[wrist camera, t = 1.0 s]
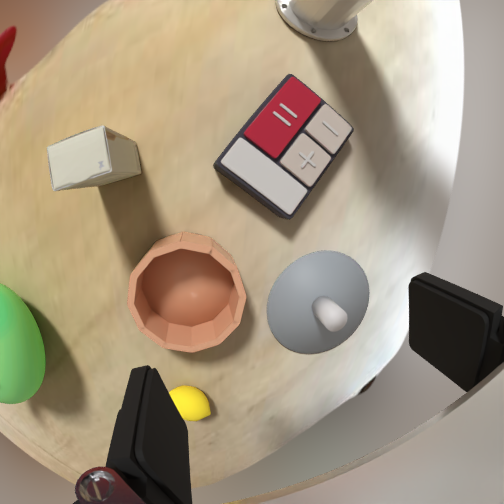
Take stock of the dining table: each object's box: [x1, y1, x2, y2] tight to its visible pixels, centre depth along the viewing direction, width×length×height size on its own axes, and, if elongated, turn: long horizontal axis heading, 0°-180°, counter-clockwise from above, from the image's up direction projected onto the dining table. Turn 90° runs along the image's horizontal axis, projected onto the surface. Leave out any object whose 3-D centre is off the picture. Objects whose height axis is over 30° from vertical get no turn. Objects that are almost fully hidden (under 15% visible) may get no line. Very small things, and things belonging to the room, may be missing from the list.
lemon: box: [169, 386, 211, 421], centre depth 39 cm, size 7×5×5 cm
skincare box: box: [47, 126, 141, 191], centre depth 27 cm, size 6×4×12 cm
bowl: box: [127, 232, 246, 353], centre depth 35 cm, size 13×13×6 cm
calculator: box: [213, 74, 354, 219], centre depth 34 cm, size 11×4×15 cm
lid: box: [267, 251, 369, 354], centre depth 39 cm, size 16×16×6 cm
